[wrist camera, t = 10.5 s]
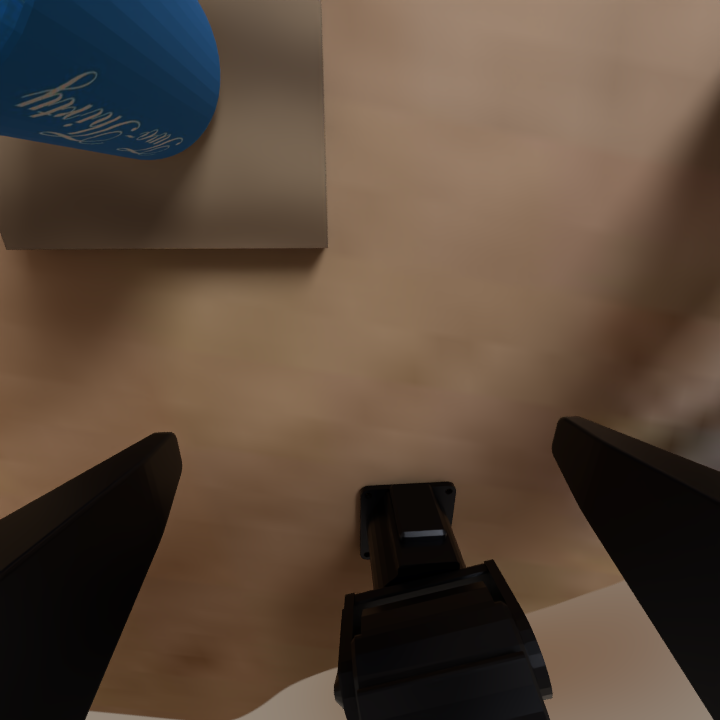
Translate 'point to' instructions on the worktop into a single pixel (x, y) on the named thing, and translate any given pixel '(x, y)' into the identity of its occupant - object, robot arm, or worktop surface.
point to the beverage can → (108, 74)
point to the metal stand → (197, 157)
